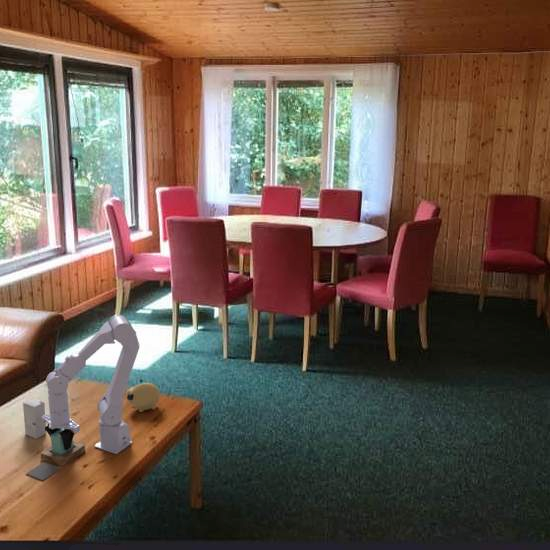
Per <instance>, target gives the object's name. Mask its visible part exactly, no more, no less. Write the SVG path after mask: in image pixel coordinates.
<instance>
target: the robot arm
mask: <svg viewBox="0 0 550 550" xmlns="http://www.w3.org/2000/svg"><path fill="white" fill-rule="evenodd" d="M115 341H116V342H118V343H119V344H121V346H122V348H121V351H120V354H119V356H118V359H117V361H116V365H115V368H114V371H113V374H112V377H111V380H110V383H109V385H108V389H107V390H106V391H105V392H104V394H103V396H102V398H101V399H100V400H99V401H98V403H97V410H98V411H99V414H100V416H99V419H98V428H99V440H100V441H99V442H97V443H96V444H94V447H95V448H97V449H100V450H103V451H106V452H109V453H111V454H114V455H118V454H119V453H120V452H121V451H123V450H124V449H126V448H127V447H129V446H130V445H132V444H133V441H132V440H131V429H130V425H129V424H128V423H126V422H125V421H124V420H123V419H122V418H123V413H122V409H123V404H124V402H123V401H124V400H123V398H124V397H123V396H124V394H125V391H126V388H127V386H128V385H127V384H128V382H129V379H130V376H131V373H132V370H133V368H134V365H135V362H136V358H137V355H138V352H139V351H140V346H141V345H140V343H139V340H138V335H137V331H136V330H135V329H134V327H133V325H132V324H131V322H130V321H129V320H128V318H127V317H126V316H125V315H122V314H114V315H113V316H111V317H110V318H109V320H108V321H105V322H104V324H103V325H102V326H101V328H100V329H99V330H98V331H97V332H96V333H95V334H94V335H93V337H92V338H91V339H90V340H89V341H88V342H87V343H86V344H85V346H83V348H82V349H81V350H80V351H79V352H77V353H72V354H71V355H67V356H65V358H64V361H63V362H62V363H61V365H59V366H58V367H57V368H56V367H55V368H54V370H53V371H51V372H49V373H48V375H47V376H46V379H45V384H46V386H47V389H48V391H47V394H48V396H47V397H48V408H49V414H47V413H45V415H44V416H42V417H41V419H42V422H43V423H45V422H46V424H47V425H46V427H45V430H46V434H48V436H49V437H50V438H51V435H52V434H53V433H55V432H56V431H58V430H60V429H64V430H63V431H61V432H60V433H59V434H60V436H61V438H62V440H63V445H64V449H65V450H68V449H69V448H71V444H72V440H73V439H74V436H75V434H77V433H79V432H80V431H81V426H80V424H78V423H76V422H75V421H74V420H72V418H70V408H69V407H70V406H69V395H68V392H67V390H68V388H69V383H70V382H71V381H73V380H74V379H75V378H76V377H77V376H78V375H79V374H80V373H81V372H82V371H83V370H84V369H85V368H86V366H87V364H86V363H87V360H89V359H90V358H91V357H92V356H93V355H94V354H96V353H97V352H98V351H99V350H100V349H101V348H102V347H104V345H107V344H108V345H109V344H110V345H112V344H116V342H115ZM73 441H74V440H73Z"/></svg>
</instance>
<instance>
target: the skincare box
mask: <svg viewBox="0 0 550 550" xmlns="http://www.w3.org/2000/svg"><path fill="white" fill-rule="evenodd" d="M22 407H23V419H24V420H23V422H24V432H25V435H27V436H29V437H31V438H33V439H35V440H36V439H39V438H41V437H44V435H47V431H46V430H45V427H46V426H47V422H45V423H43V422H42V419H41V417H42V416H44V415H46V409H45V407H46V406H45V402H44V401H41V400H40V399H38V398H34V397H31V398H29V399H27V400H25V401H23V402H22Z"/></svg>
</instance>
